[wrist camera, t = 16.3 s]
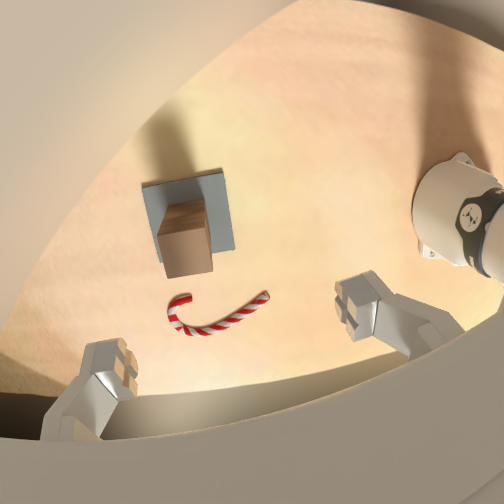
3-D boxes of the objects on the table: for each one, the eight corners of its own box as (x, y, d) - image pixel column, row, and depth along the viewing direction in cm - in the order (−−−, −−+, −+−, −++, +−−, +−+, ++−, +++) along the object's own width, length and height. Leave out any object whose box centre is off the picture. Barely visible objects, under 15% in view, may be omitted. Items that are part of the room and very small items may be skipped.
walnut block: (204, 198, 36) (204, 227, 27) (210, 233, 38) (213, 271, 29) (168, 205, 36) (156, 236, 27) (175, 239, 38) (167, 278, 29)
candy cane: (276, 315, 45) (182, 345, 45) (274, 310, 46) (182, 339, 46) (261, 272, 41) (159, 306, 41) (259, 267, 43) (160, 301, 43)
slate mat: (223, 172, 36) (223, 173, 35) (235, 247, 40) (235, 249, 40) (142, 187, 35) (141, 188, 35) (160, 260, 39) (160, 262, 39)
